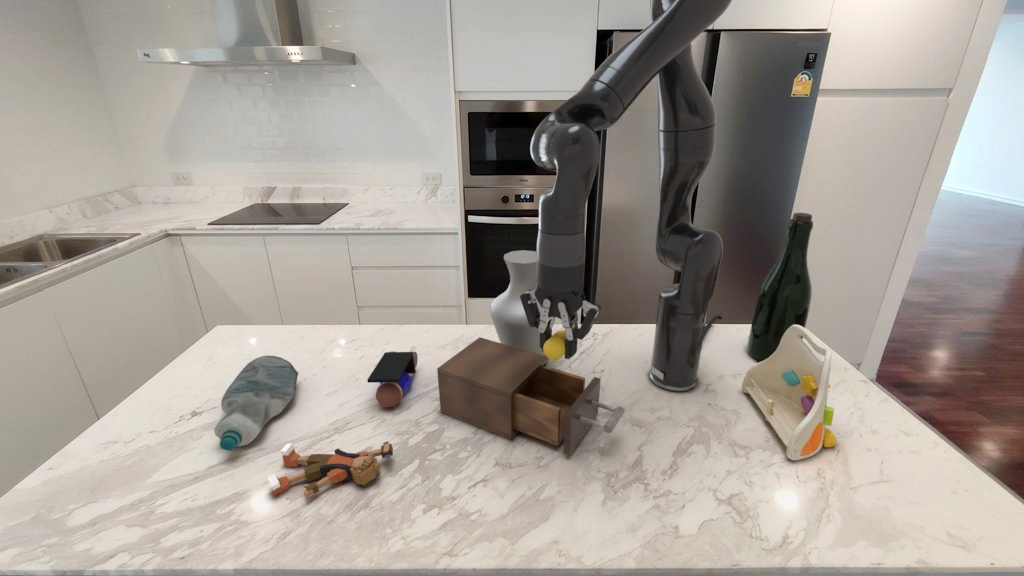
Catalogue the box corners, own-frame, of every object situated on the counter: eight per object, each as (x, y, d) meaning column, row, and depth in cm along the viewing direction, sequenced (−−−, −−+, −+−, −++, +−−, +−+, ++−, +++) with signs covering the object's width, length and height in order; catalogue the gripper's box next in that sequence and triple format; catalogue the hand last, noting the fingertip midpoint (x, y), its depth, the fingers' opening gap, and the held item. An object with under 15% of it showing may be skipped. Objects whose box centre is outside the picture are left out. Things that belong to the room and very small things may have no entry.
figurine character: (390, 376, 106) (369, 411, 92) (387, 344, 104) (365, 375, 90) (420, 376, 106) (403, 412, 91) (418, 344, 104) (400, 375, 89)
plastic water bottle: (244, 381, 102) (184, 464, 79) (240, 351, 99) (176, 427, 76) (309, 381, 104) (269, 461, 81) (306, 352, 101) (264, 426, 78)
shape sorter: (852, 463, 78) (883, 370, 71) (785, 461, 79) (810, 368, 72) (793, 392, 96) (813, 312, 89) (739, 391, 97) (755, 312, 90)
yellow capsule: (558, 366, 78) (559, 346, 76) (539, 360, 79) (539, 341, 78) (575, 348, 83) (576, 330, 81) (556, 343, 84) (557, 325, 83)
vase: (516, 339, 118) (515, 241, 109) (567, 356, 110) (571, 252, 101) (479, 364, 107) (474, 259, 98) (532, 385, 100) (533, 273, 90)
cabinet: (547, 399, 95) (548, 356, 91) (511, 440, 84) (510, 393, 80) (481, 377, 103) (479, 336, 99) (440, 412, 92) (436, 368, 88)
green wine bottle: (802, 353, 110) (838, 212, 97) (791, 373, 103) (828, 223, 90) (753, 339, 116) (781, 205, 104) (739, 357, 109) (767, 214, 96)
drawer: (628, 424, 86) (632, 387, 83) (602, 469, 76) (605, 428, 73) (529, 391, 96) (529, 357, 93) (495, 427, 86) (494, 390, 83)
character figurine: (297, 430, 82) (395, 429, 79) (305, 452, 84) (401, 453, 81) (252, 482, 71) (364, 484, 68) (263, 507, 73) (372, 510, 70)
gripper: (612, 257, 74) (605, 354, 81) (532, 244, 81) (531, 334, 87) (594, 272, 68) (588, 376, 75) (509, 256, 75) (510, 352, 81)
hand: (557, 353), depth 81 cm, fingers closed on yellow capsule, 3 cm apart
